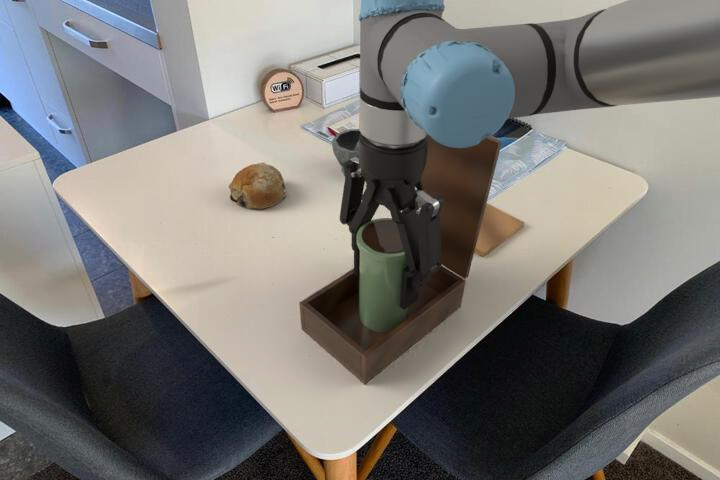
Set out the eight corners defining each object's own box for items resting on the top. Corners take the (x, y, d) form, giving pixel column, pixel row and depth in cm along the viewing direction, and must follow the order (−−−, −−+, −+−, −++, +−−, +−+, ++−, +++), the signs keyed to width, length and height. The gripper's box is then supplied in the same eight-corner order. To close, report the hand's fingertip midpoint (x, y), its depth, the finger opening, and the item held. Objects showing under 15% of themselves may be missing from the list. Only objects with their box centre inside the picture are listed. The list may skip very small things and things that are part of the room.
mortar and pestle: (350, 189, 100) (350, 132, 92) (324, 168, 106) (322, 113, 98) (396, 171, 105) (399, 116, 98) (368, 152, 111) (370, 99, 103)
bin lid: (498, 142, 60) (521, 132, 63) (416, 108, 67) (441, 100, 70) (464, 279, 72) (485, 265, 75) (397, 237, 79) (419, 226, 82)
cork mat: (483, 257, 85) (484, 252, 84) (426, 224, 91) (427, 220, 91) (523, 226, 91) (524, 222, 91) (468, 198, 98) (468, 193, 97)
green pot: (384, 344, 69) (389, 264, 61) (344, 313, 74) (343, 234, 65) (422, 314, 74) (432, 236, 65) (382, 286, 78) (387, 209, 69)
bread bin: (364, 385, 65) (365, 358, 62) (301, 329, 72) (299, 302, 69) (461, 307, 76) (466, 280, 73) (397, 265, 83) (399, 239, 80)
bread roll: (282, 224, 97) (297, 188, 93) (227, 212, 92) (242, 175, 88) (273, 195, 104) (288, 161, 101) (223, 183, 99) (236, 147, 96)
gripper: (495, 156, 52) (464, 313, 67) (353, 94, 64) (352, 239, 78) (448, 184, 48) (425, 345, 62) (305, 112, 60) (313, 261, 74)
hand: (385, 286), depth 70 cm, fingers open, 8 cm apart
